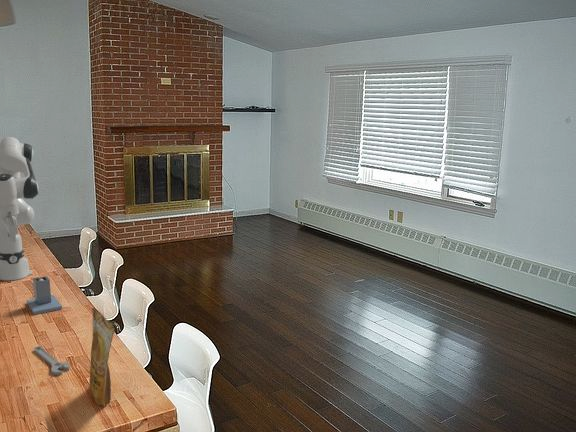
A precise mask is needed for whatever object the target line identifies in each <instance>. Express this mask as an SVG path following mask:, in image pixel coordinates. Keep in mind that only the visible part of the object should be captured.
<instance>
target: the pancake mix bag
mask: <svg viewBox="0 0 576 432" xmlns="http://www.w3.org/2000/svg"><path fill="white" fill-rule="evenodd" d="M91 311H92V341H91V350H90V351H91V352H90V369H89V382H88V383H89V389H90V392H91V394H92V396H93V399H94V401H95V404H96V403H97V404H96V405H97V406H103V407H104V408H106V407H107V406H108V405H109V404H110V403H111V401H112V398H111V397H112V396H111V395H112V392H111V391H112V388H111V386H112V385H111V383H112V382H111V373H110V368H109V364H108V363H109V356H110V349H111V346H112V341H113V337H114V334H115V326H114V325H113V324H112V323H111V322H110V321H109V320H108V319H106V317H105V316H104V315H103V314H102V313H101V312H100V310H98V309H97V308H95V307H92V308H91ZM110 400H111V401H110ZM107 404H108V405H107ZM106 405H107V406H106Z"/></svg>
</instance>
